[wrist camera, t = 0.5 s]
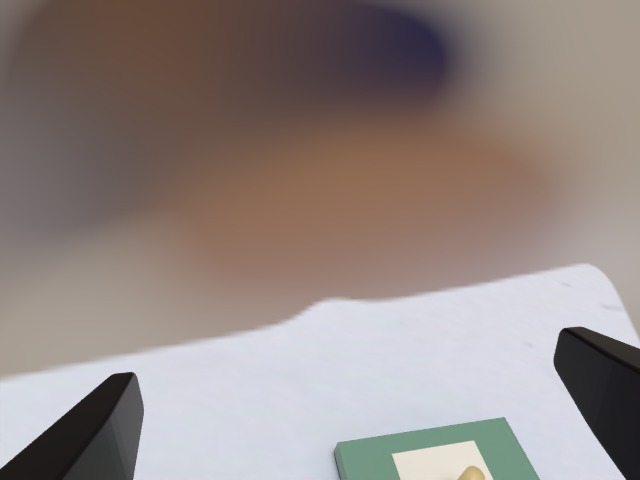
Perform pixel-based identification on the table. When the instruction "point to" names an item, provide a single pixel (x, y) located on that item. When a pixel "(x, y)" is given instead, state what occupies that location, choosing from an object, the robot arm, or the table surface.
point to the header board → (438, 454)
